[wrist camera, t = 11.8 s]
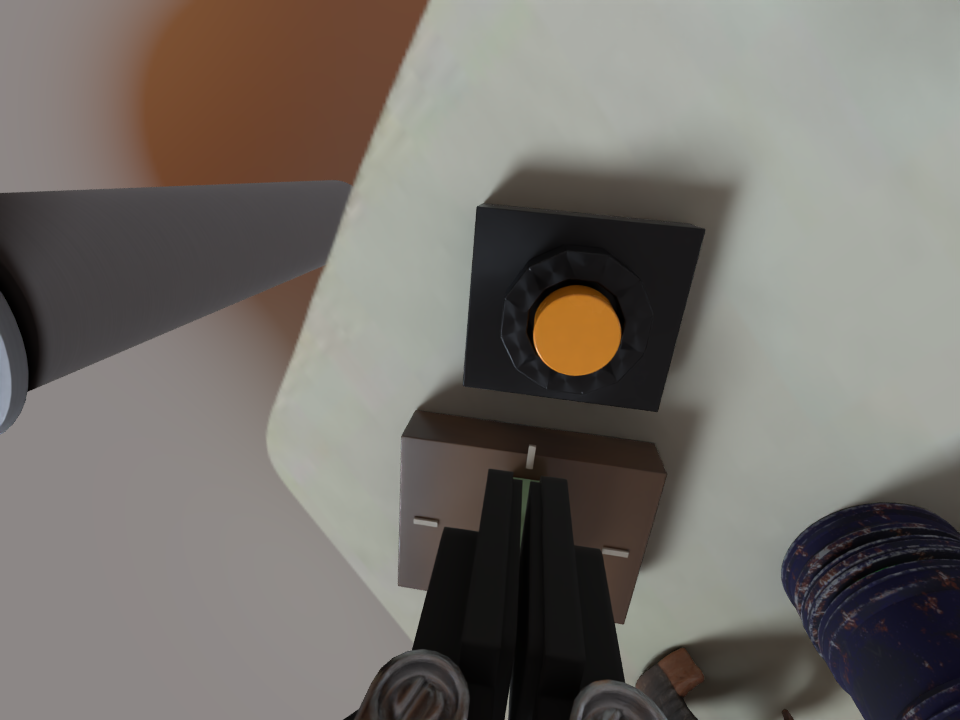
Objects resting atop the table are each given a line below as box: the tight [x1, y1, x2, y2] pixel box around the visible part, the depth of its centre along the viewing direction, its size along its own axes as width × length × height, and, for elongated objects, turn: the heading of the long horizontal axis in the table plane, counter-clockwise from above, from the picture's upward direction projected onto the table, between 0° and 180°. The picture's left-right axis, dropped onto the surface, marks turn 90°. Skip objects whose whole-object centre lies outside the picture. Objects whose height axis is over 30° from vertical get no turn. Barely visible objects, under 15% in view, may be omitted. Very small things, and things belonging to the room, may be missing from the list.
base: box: [398, 410, 667, 624], centre depth 28 cm, size 14×12×3 cm
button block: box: [463, 203, 705, 412], centre depth 22 cm, size 10×9×4 cm
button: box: [533, 285, 621, 376], centre depth 20 cm, size 4×4×2 cm
